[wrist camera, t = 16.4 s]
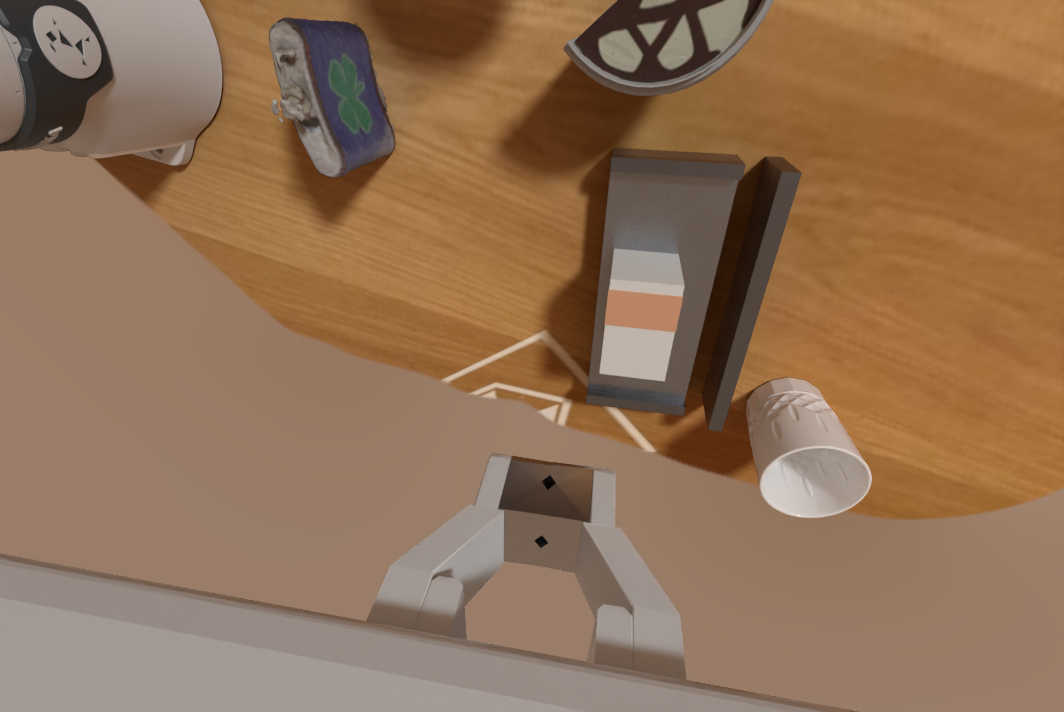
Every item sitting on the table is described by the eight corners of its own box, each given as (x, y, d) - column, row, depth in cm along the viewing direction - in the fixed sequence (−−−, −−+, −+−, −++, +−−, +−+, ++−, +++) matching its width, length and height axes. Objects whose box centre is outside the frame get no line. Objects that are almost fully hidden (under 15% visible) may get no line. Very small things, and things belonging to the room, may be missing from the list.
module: (603, 335, 43) (598, 374, 38) (613, 248, 39) (609, 279, 34) (662, 342, 43) (665, 382, 38) (679, 254, 38) (685, 286, 33)
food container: (627, 124, 36) (623, 148, 28) (578, 48, 34) (558, 49, 26) (795, -8, 31) (853, -27, 22) (748, -109, 29) (792, -170, 20)
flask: (401, 152, 40) (333, 183, 32) (369, 157, 41) (295, 188, 32) (364, 18, 36) (273, 10, 27) (329, 26, 36) (229, 21, 28)
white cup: (745, 442, 50) (766, 522, 42) (732, 380, 46) (752, 455, 38) (832, 430, 47) (874, 513, 39) (825, 363, 44) (869, 439, 35)
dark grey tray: (589, 382, 49) (584, 413, 45) (613, 147, 37) (610, 161, 33) (714, 397, 48) (721, 431, 43) (782, 157, 36) (801, 172, 31)
